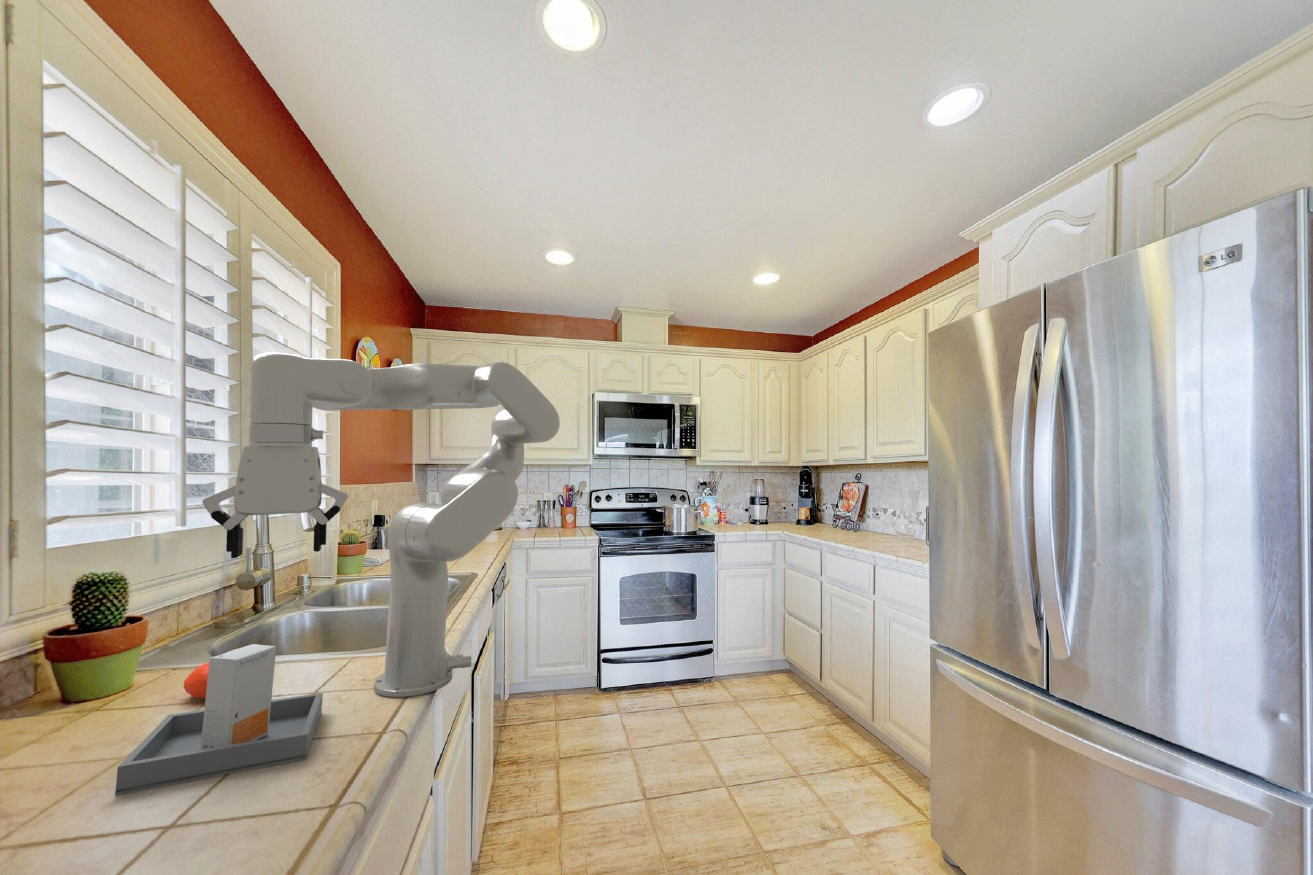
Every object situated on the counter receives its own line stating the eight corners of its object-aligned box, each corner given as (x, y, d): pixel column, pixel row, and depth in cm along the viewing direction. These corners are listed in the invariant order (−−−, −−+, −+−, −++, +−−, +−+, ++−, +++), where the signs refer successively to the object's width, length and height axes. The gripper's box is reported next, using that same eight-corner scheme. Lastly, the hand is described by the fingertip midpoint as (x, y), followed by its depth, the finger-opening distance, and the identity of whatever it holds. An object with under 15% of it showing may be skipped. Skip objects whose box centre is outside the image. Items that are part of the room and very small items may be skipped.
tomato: (228, 686, 89) (237, 647, 90) (244, 698, 84) (254, 657, 85) (174, 694, 83) (184, 652, 84) (188, 707, 78) (199, 663, 80)
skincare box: (226, 757, 64) (234, 660, 65) (198, 753, 65) (207, 657, 66) (270, 734, 70) (277, 645, 71) (245, 731, 71) (252, 643, 72)
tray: (321, 713, 78) (322, 692, 78) (306, 759, 65) (307, 734, 66) (166, 738, 70) (168, 714, 70) (114, 795, 57) (117, 766, 58)
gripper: (350, 439, 83) (348, 544, 82) (213, 437, 75) (209, 555, 74) (347, 437, 77) (345, 551, 76) (197, 435, 68) (193, 564, 67)
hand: (278, 553), depth 75 cm, fingers open, 9 cm apart
